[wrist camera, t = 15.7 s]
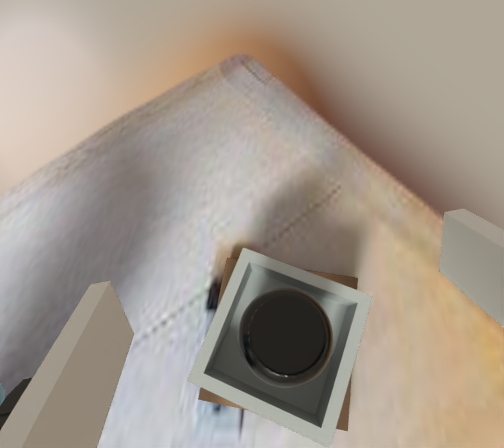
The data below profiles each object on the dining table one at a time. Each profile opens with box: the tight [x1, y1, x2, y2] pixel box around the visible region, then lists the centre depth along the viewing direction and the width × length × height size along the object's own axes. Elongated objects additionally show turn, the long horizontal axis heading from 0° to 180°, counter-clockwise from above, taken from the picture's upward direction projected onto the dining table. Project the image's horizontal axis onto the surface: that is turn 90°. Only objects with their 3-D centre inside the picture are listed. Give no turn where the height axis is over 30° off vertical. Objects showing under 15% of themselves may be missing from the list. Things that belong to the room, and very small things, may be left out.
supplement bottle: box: [238, 287, 333, 388], centre depth 25 cm, size 7×7×12 cm
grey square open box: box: [187, 248, 373, 448], centre depth 29 cm, size 12×12×6 cm
